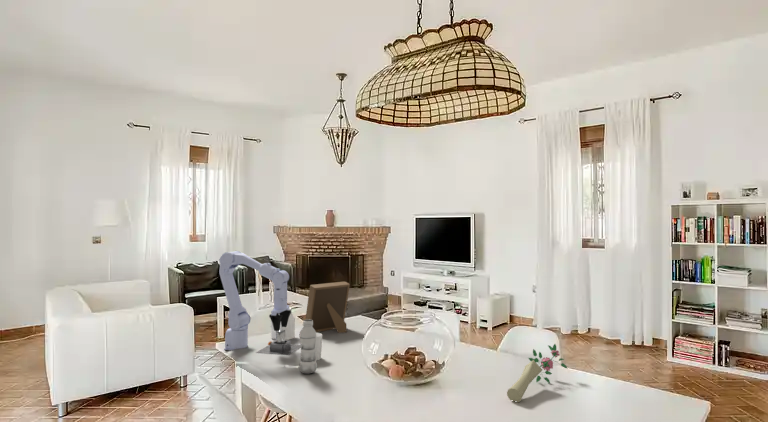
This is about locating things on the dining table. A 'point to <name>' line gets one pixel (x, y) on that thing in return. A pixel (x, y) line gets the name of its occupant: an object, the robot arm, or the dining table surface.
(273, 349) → the stand base
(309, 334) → the plastic bottle
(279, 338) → the silver metal canister
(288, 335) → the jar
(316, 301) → the photo frame
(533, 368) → the flower vase
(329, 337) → the dining table surface
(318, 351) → the white cup
